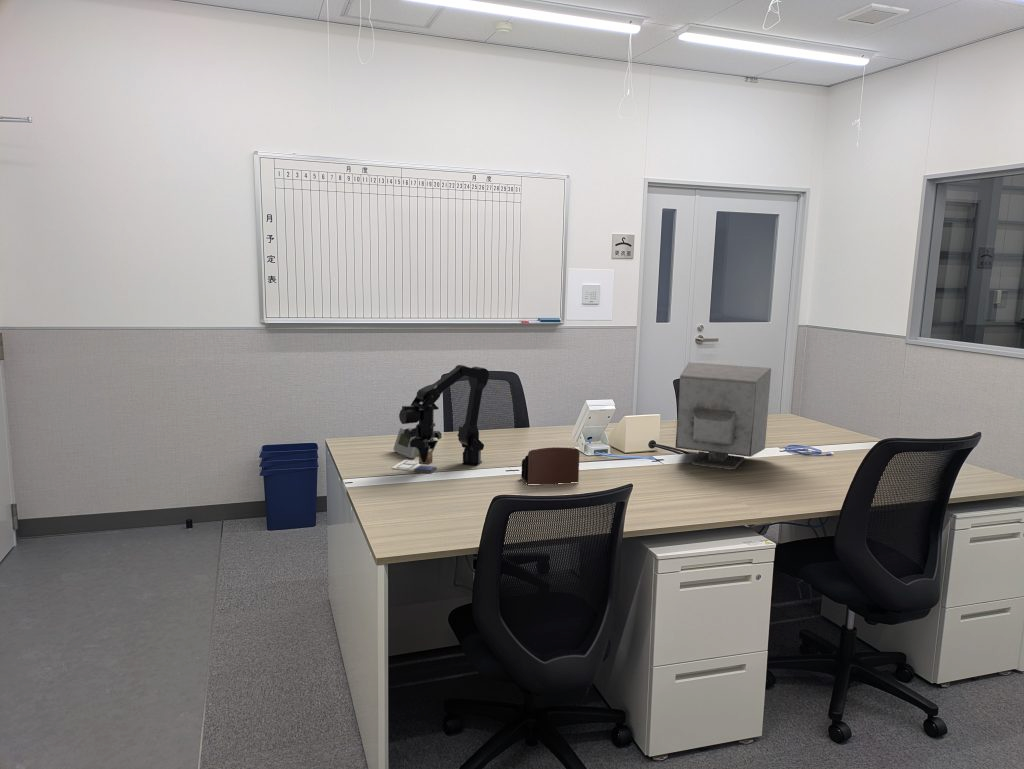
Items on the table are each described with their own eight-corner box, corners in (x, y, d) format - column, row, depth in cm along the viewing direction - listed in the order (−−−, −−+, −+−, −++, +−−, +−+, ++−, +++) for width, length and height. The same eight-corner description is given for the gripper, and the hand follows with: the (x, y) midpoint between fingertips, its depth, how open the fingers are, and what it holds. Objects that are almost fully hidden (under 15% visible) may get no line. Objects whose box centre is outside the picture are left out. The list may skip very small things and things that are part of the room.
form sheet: (425, 462, 300) (425, 461, 300) (412, 470, 288) (412, 469, 287) (405, 460, 302) (405, 459, 302) (391, 468, 290) (391, 467, 290)
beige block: (432, 462, 289) (432, 448, 288) (428, 464, 285) (428, 451, 285) (422, 461, 290) (422, 447, 289) (418, 463, 286) (419, 450, 286)
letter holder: (578, 483, 276) (580, 447, 274) (527, 486, 272) (528, 448, 269) (570, 476, 286) (571, 441, 284) (520, 478, 281) (521, 442, 279)
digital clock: (392, 451, 318) (392, 427, 316) (412, 449, 322) (412, 425, 320) (404, 460, 304) (404, 435, 302) (425, 458, 308) (425, 433, 306)
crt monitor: (764, 458, 321) (771, 367, 315) (753, 479, 287) (761, 378, 281) (683, 449, 335) (689, 361, 329) (664, 467, 302) (670, 370, 296)
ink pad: (436, 469, 290) (436, 466, 290) (431, 473, 284) (431, 470, 284) (420, 468, 292) (420, 464, 292) (414, 471, 286) (414, 468, 286)
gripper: (416, 415, 296) (416, 453, 299) (396, 424, 279) (396, 464, 281) (442, 417, 293) (441, 455, 296) (424, 426, 276) (424, 467, 278)
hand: (425, 460), depth 288 cm, fingers closed on beige block, 4 cm apart
